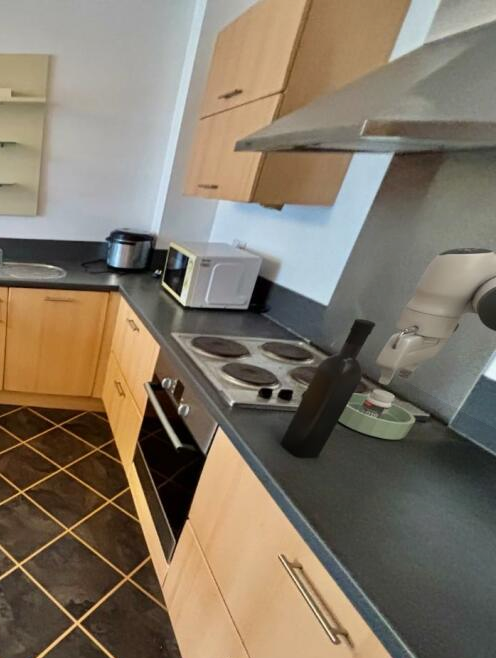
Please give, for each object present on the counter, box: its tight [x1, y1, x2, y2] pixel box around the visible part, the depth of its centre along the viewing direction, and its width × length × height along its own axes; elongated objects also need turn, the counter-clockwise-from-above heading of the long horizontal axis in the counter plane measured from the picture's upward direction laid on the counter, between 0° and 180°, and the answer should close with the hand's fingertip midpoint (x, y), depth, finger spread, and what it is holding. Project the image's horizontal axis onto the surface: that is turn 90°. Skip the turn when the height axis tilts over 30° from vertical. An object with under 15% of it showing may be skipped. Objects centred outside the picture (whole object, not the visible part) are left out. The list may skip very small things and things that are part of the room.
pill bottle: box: [359, 389, 396, 419], centre depth 101 cm, size 5×5×8 cm
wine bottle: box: [280, 318, 376, 458], centre depth 84 cm, size 6×6×30 cm
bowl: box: [338, 392, 416, 441], centre depth 102 cm, size 15×15×5 cm
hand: (393, 380), depth 97 cm, fingers open, 8 cm apart
